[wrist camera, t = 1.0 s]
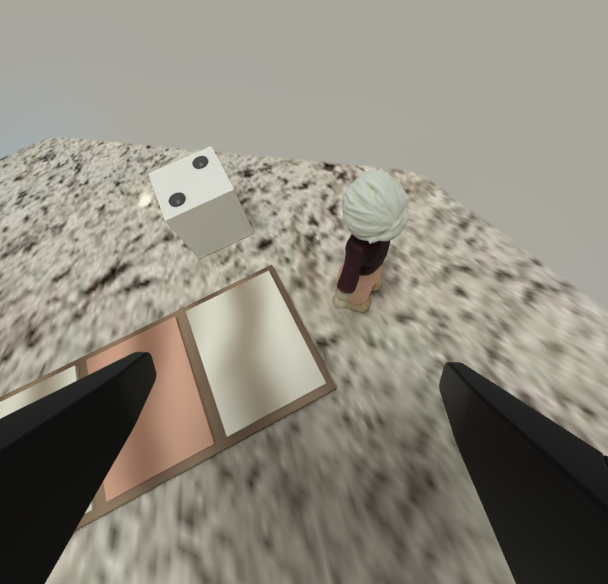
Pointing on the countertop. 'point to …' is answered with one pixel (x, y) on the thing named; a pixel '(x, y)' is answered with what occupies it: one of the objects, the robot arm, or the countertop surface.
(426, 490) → the countertop surface
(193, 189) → the white die
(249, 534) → the countertop surface
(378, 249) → the grandmother figurine
